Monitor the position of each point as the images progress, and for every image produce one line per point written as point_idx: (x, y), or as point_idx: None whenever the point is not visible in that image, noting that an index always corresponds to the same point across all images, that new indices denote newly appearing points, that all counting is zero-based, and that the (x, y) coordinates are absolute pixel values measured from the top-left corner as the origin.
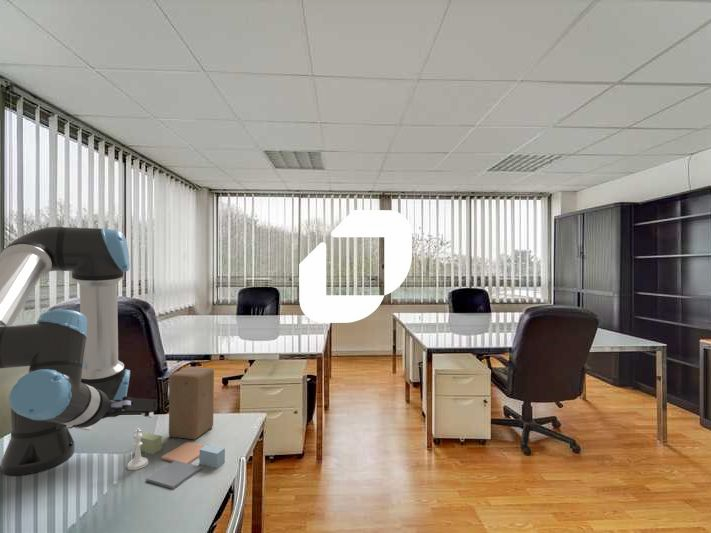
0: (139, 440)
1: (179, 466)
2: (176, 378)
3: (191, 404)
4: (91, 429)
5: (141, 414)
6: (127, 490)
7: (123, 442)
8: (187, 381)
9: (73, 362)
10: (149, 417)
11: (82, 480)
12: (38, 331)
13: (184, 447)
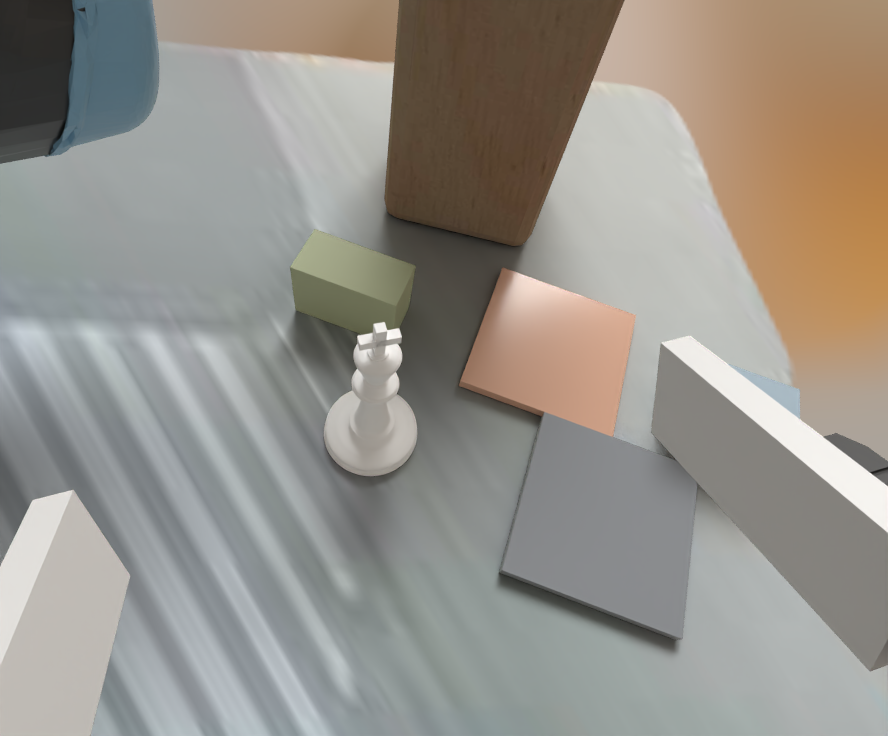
0: (390, 376)
1: (598, 464)
2: None
3: (554, 99)
4: (127, 576)
5: (875, 668)
6: (455, 660)
7: (187, 244)
8: None
9: None
10: (680, 456)
11: (151, 573)
12: None
13: (520, 310)
